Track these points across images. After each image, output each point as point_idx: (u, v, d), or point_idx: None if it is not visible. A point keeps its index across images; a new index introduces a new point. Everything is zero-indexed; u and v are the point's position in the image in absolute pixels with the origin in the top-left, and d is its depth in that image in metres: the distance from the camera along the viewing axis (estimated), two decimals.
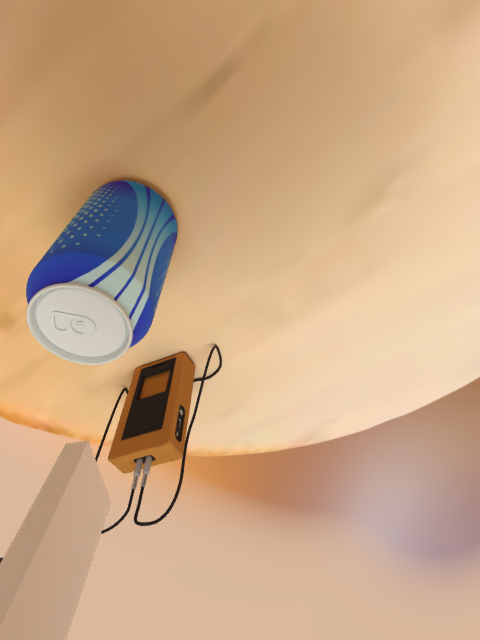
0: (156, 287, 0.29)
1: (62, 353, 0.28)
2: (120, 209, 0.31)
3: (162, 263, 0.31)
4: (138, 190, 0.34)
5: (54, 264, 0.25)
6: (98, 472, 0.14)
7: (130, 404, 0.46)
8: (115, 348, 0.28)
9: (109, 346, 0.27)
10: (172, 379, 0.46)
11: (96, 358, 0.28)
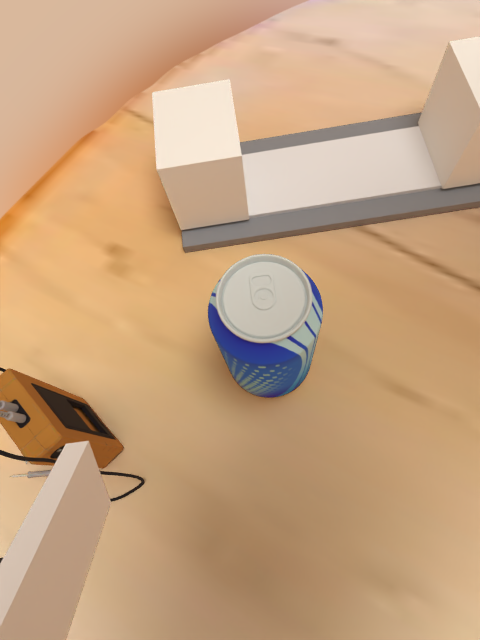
0: (290, 365, 0.30)
1: (222, 287, 0.29)
2: None
3: (291, 373, 0.33)
4: None
5: (305, 274, 0.30)
6: (98, 472, 0.14)
7: (59, 393, 0.37)
8: (245, 331, 0.27)
9: (246, 325, 0.28)
10: (101, 436, 0.37)
11: (224, 316, 0.28)
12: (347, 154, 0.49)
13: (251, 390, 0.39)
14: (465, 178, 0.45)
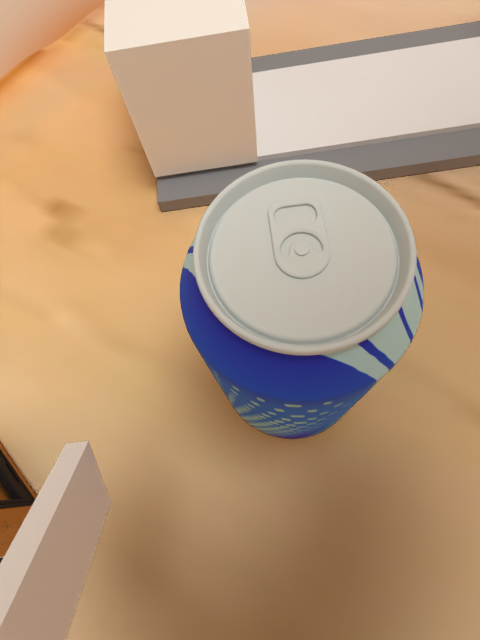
0: (350, 400, 0.14)
1: (207, 228, 0.13)
2: None
3: (343, 410, 0.17)
4: None
5: None
6: (98, 472, 0.14)
7: None
8: (260, 326, 0.12)
9: (261, 313, 0.12)
10: (1, 509, 0.21)
11: (212, 293, 0.12)
12: (402, 71, 0.33)
13: (261, 428, 0.23)
14: None
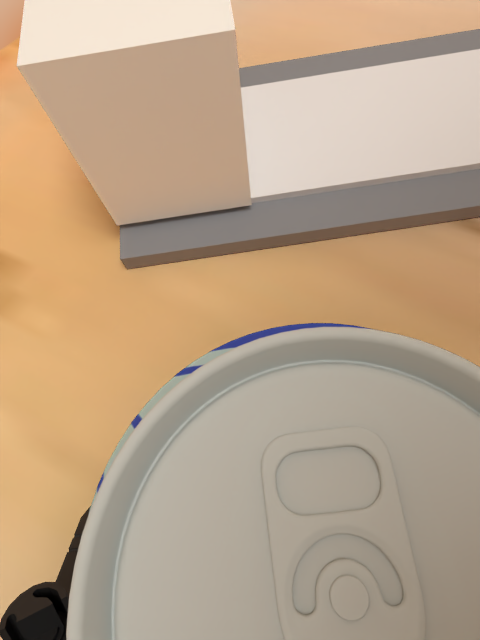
0: None
1: (116, 508, 0.05)
2: None
3: None
4: None
5: None
6: None
7: None
8: None
9: None
10: None
11: None
12: (436, 84, 0.26)
13: None
14: None
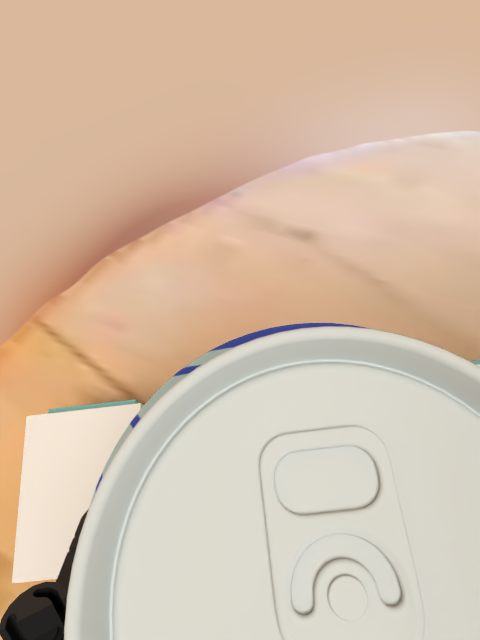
0: None
1: (114, 508, 0.05)
2: None
3: None
4: None
5: None
6: None
7: None
8: None
9: None
10: None
11: None
12: None
13: None
14: None
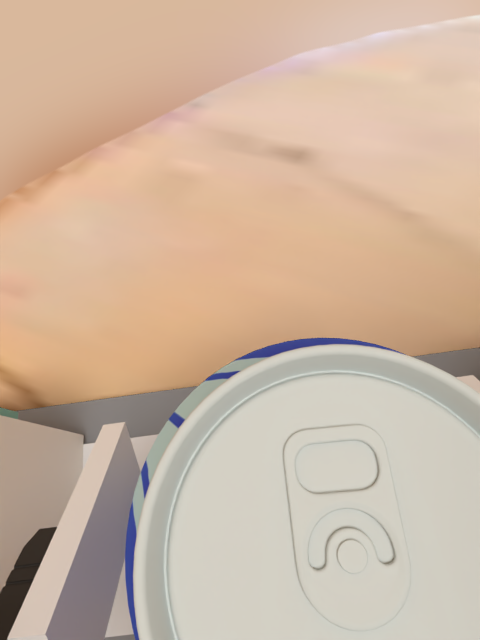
0: None
1: (168, 486, 0.07)
2: None
3: None
4: None
5: None
6: (133, 452, 0.14)
7: None
8: None
9: None
10: None
11: None
12: None
13: None
14: None
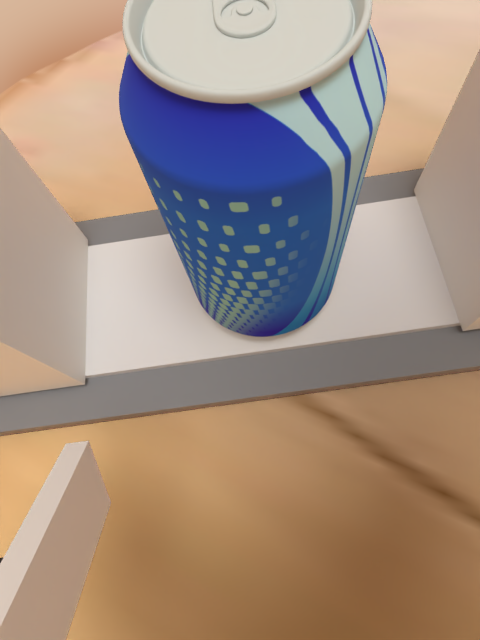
0: (306, 218, 0.13)
1: None
2: None
3: (306, 261, 0.16)
4: None
5: None
6: (98, 472, 0.14)
7: None
8: (193, 81, 0.10)
9: (195, 70, 0.10)
10: None
11: (142, 56, 0.11)
12: None
13: (229, 319, 0.21)
14: None
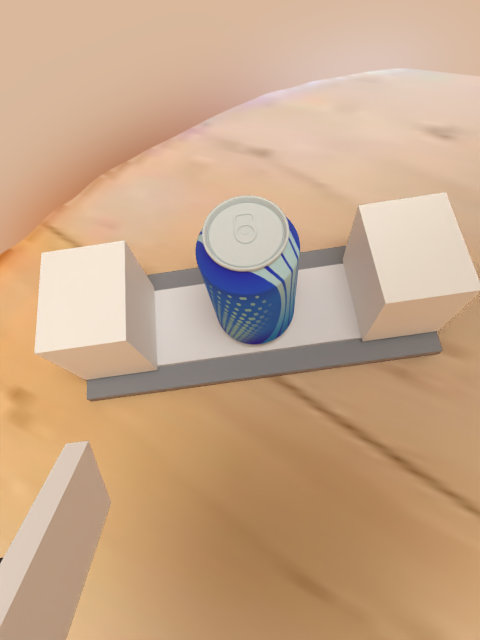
0: (269, 300, 0.33)
1: (208, 223, 0.32)
2: None
3: (272, 312, 0.36)
4: None
5: None
6: (98, 472, 0.14)
7: None
8: (227, 261, 0.30)
9: (228, 256, 0.30)
10: None
11: (209, 249, 0.31)
12: None
13: (236, 335, 0.41)
14: (384, 334, 0.42)
